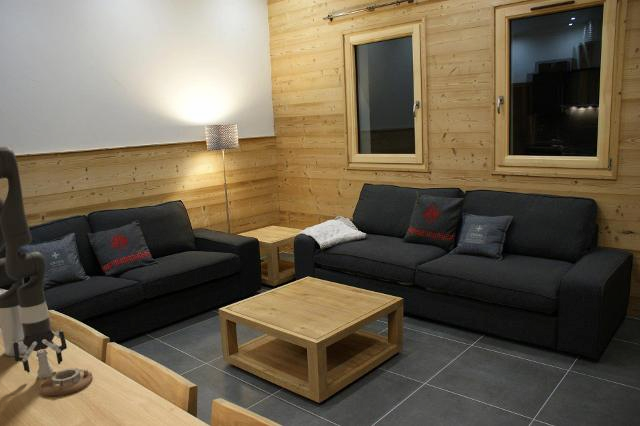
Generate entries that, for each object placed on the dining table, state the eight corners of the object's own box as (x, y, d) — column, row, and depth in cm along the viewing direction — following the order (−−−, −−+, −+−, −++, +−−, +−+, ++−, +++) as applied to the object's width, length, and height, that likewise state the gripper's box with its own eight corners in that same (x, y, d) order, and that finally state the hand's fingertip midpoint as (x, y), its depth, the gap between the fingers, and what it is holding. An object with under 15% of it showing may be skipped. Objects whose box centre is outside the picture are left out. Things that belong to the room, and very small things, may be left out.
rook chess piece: (56, 372, 169) (52, 348, 167) (45, 379, 164) (41, 355, 163) (45, 371, 170) (41, 347, 169) (34, 378, 166) (29, 353, 164)
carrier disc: (39, 382, 163) (37, 372, 162) (88, 368, 170) (87, 359, 169) (42, 402, 151) (40, 391, 150) (95, 386, 158) (94, 376, 157)
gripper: (59, 308, 170) (67, 356, 173) (8, 320, 163) (17, 369, 166) (62, 315, 164) (70, 365, 167) (8, 327, 157) (18, 379, 160)
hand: (44, 367), depth 166 cm, fingers open, 8 cm apart
